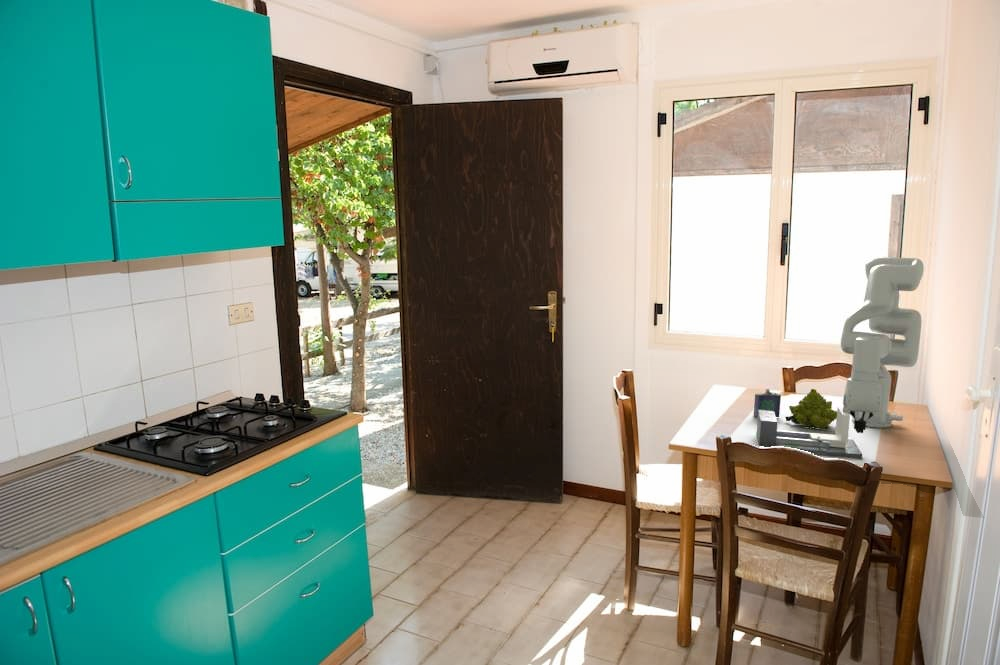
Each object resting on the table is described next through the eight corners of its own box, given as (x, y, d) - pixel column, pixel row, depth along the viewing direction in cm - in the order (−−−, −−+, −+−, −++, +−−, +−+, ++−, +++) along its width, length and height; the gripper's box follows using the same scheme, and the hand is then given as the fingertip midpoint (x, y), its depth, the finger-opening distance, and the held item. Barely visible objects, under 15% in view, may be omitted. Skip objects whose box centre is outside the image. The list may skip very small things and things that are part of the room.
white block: (841, 440, 217) (844, 407, 215) (847, 451, 207) (851, 417, 205) (808, 437, 220) (810, 405, 218) (813, 448, 210) (815, 414, 208)
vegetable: (774, 412, 240) (800, 379, 238) (800, 429, 247) (825, 397, 244) (801, 432, 227) (829, 397, 225) (828, 450, 233) (855, 416, 231)
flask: (754, 417, 247) (756, 390, 245) (752, 415, 250) (754, 387, 248) (780, 418, 246) (782, 390, 244) (777, 416, 249) (779, 388, 247)
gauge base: (852, 443, 219) (855, 416, 217) (862, 459, 206) (864, 430, 204) (756, 435, 228) (758, 409, 226) (759, 449, 214) (761, 421, 213)
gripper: (888, 374, 209) (882, 430, 212) (836, 371, 213) (831, 426, 217) (894, 380, 202) (888, 437, 205) (840, 377, 206) (835, 433, 210)
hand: (859, 431), depth 211 cm, fingers closed
